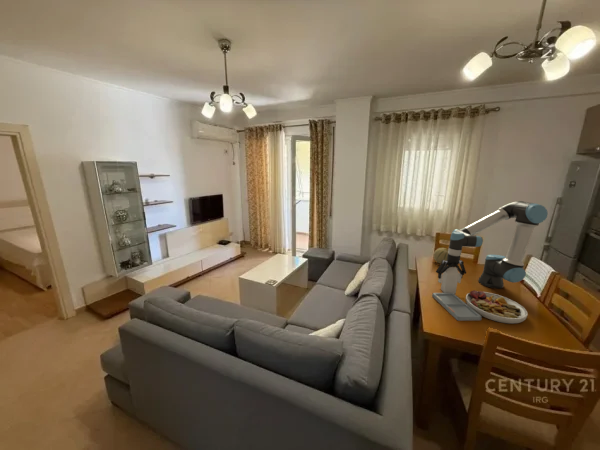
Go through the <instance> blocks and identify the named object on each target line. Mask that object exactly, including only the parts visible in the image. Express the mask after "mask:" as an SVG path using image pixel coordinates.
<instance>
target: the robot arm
mask: <svg viewBox="0 0 600 450" xmlns="http://www.w3.org/2000/svg"><path fill="white" fill-rule="evenodd" d="M548 215H549V214H548V209H547V208H546V207H545V206H544V205H543V204H539V203H536V202H527V201H522V200H518V201H517V200H516V201H513V202H509V203H506V204H505V205H502V206H500V207H498V208H497V209H496V210H495V211H493V212H492V213H490V214H488V215H486V216H484V217H482V218H481V219H479V220H478V219H477V220H476V221H475V222H471V224H469V225H466V226H465V227H463V228H461V229H458V228H456V229H453V230H452V232H451V234H450V237H449V244H448V255H447V261H444V260H442V263H441V264H440V265H439V266H438V268H437V269H436V270H435V273H436V274H437V278H438V283H439V284H442V278H443V273H444V272H445V271H446V270H447V269H448V268H450V267H455V268H457V270H458V274H459V276H458V282H457V284H458V283H459V284H461V282H462V279H463V277H464V275H466V274H467V270H466V267H465V266H464V265H465V264H464V261H463V260H461V255H462V251H463V248H466V247H468V248H469V247H470V248H476V247H477V248H478V247H481V246H482V245H483V242H484V239H483V237H482V236H480V235H476V234H478V233H481V232H482V231H484V230H486V229H488V228H491V227H492V226H494V225H496V224H498V223H500V222H502V221H504V220H505V221H508V220H509V219H513V218H515V220H514V222H515V223H516V225H515V230H514V233H513V236H512V238H511V241H510V244H509V246H508V247H509V248H508V250H507V252H506V256H505V255H499V254H487V255H486V256H485V261H484V265H483V271H482V274H481V275H480V276H479V277H478V280H477V281H479V282H478V283H479V284H480V283H481V285H482V286H484V287H487V288H491V289H498V290H499V289H503V288H504V285H505V283H504V280H505V281H507V282H509V283H519V282H521V281H522V280H524V279H525V277H526V275H527V271H526V270H525V268H524V267H525V264H524V262H523V260H524V258H525V255H526V252H527V250H528V246H529V243H530V240H531V237H532V235H533V232H534V229H535V228H536V227H538V226H539V224H541V223H543V222H544V221H546V220H547V218H548ZM446 263H447V264H446Z"/></svg>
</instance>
